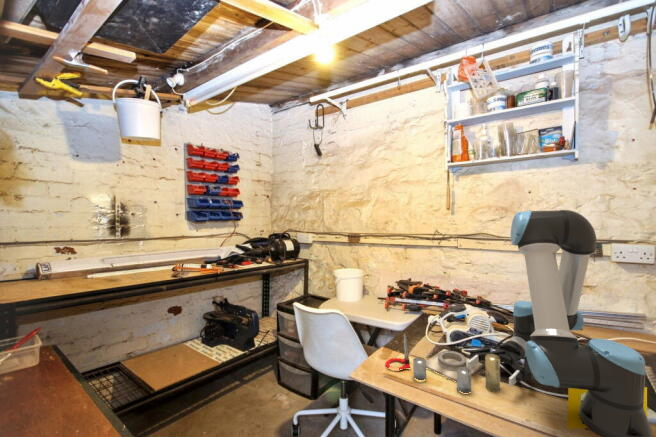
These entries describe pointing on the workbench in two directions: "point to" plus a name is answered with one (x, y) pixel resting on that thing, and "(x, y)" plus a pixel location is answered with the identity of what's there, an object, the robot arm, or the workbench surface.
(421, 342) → the workbench surface
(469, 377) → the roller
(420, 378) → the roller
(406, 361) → the tow hook
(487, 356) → the brass roller
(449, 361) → the bearing housing
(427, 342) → the workbench surface
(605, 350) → the robot arm
